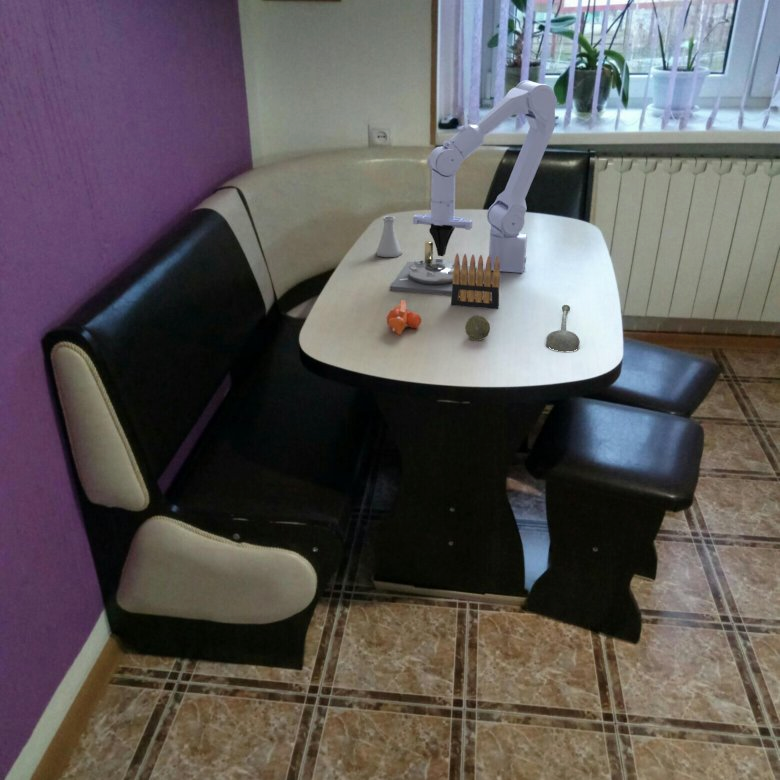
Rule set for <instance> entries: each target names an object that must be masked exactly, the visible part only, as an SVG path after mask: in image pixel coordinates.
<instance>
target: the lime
mask: <svg viewBox="0 0 780 780" xmlns="http://www.w3.org/2000/svg"><path fill="white" fill-rule="evenodd" d="M464 329H465V333H466V335H467V337H468V338H469V339H470V340H472V341H481V340H482V341H483V340H484V339H486V338H487V337H488V336H489V334H490V331H491V324H490V322H489V320H488V319H487V318H486V317H485V316H483V315H480V314H476V315H475V314H474V315H472V316H471V317H469V318H468V319H467V322H466V323H465V326H464Z"/></svg>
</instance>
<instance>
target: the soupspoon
mask: <svg viewBox="0 0 780 780" xmlns="http://www.w3.org/2000/svg"><path fill="white" fill-rule="evenodd" d="M561 310H562V317H561V318H562V319H561V321H562V322H561V329H559V330H555V331H552V332H550V333H549V334H548V335H547V336H546V339H545V340H546V341H545V343H546V346H547V348H549V347H550V348H551V349H554V350H558V351H557V352H559V351H573V352H575V351H574V350H576V349H577V350H578V349H579V347H580V343H581V342H580V338H579V336H578V335H577V334H576V333H574V332H572V331H570V330H567V313H568V312H569V311H570V310H571V307H570V305H569V304H564V305H562V306H561ZM551 349H550V350H551ZM554 350H553V351H554Z"/></svg>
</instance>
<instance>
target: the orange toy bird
mask: <svg viewBox="0 0 780 780" xmlns="http://www.w3.org/2000/svg"><path fill="white" fill-rule="evenodd" d="M386 324H387V326H388V327H389V328H390V329H392V331H391V332H393V333H396V334H397V335H401V334H402V333H403V330H405V328H406V327H407V326H408V327H409V328H411V329H417V328H419V327H420V326H421V324H422V317H421V315H419V313H417V312H415V311H409V310H408V308H407V301H406V300H403V299H401V300H400V303H399V304H398V305H395V306H394V307H393V308H392V309H391V310H390V311H389V313H388V314H387V315H386Z"/></svg>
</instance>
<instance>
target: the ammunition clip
mask: <svg viewBox="0 0 780 780" xmlns="http://www.w3.org/2000/svg"><path fill="white" fill-rule="evenodd" d="M482 255H483V254H480V256H479V257H478V260H477V261H478V262H477V271H475V267H476V257H475V255H474V254H472V255H471V257H470V261H469V265H468V257H467V256H468V255H467V254H466V253H464V255H463V257H462V260H461V261H462V262H460V257H459V256H460V255H459V253H456V255H455V257H454V260H453V262H454V270H453V286H452V295H451V298H450V299H451V300H450V306H452V307H465V306H466V307H468V308H476V309H477V308H479V309H480V308H481V309H490V310H491V309H492V310H493V309H494V310H498V309H499V307H500V283H501V281H500V280H501V279H500V278H501V273H500V272H501V271H500V269H499V268H500V263H499V257H498V256H497V257H496V259H495V263H494V271H493V272H492V271H491V258H490V255H489V254H488V256H487V259H486V262H485V263H486V264H485V267H486V270H485V269H484V258H483V256H482ZM460 263H461V264H460ZM460 265H462V270H461V280H460ZM468 266H470V269H469V276H468ZM484 270H485V272H484ZM467 290H468V291H467Z"/></svg>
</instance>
